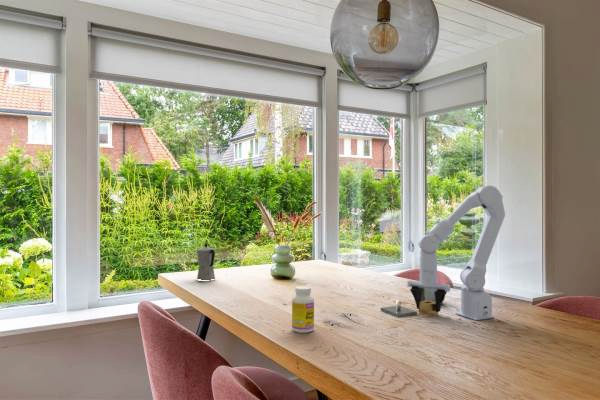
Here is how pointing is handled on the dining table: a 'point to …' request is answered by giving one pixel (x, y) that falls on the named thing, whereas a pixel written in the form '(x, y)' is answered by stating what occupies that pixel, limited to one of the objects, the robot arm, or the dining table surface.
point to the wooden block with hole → (427, 308)
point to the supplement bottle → (303, 310)
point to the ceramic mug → (428, 295)
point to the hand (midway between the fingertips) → (428, 309)
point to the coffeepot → (206, 263)
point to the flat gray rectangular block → (398, 310)
